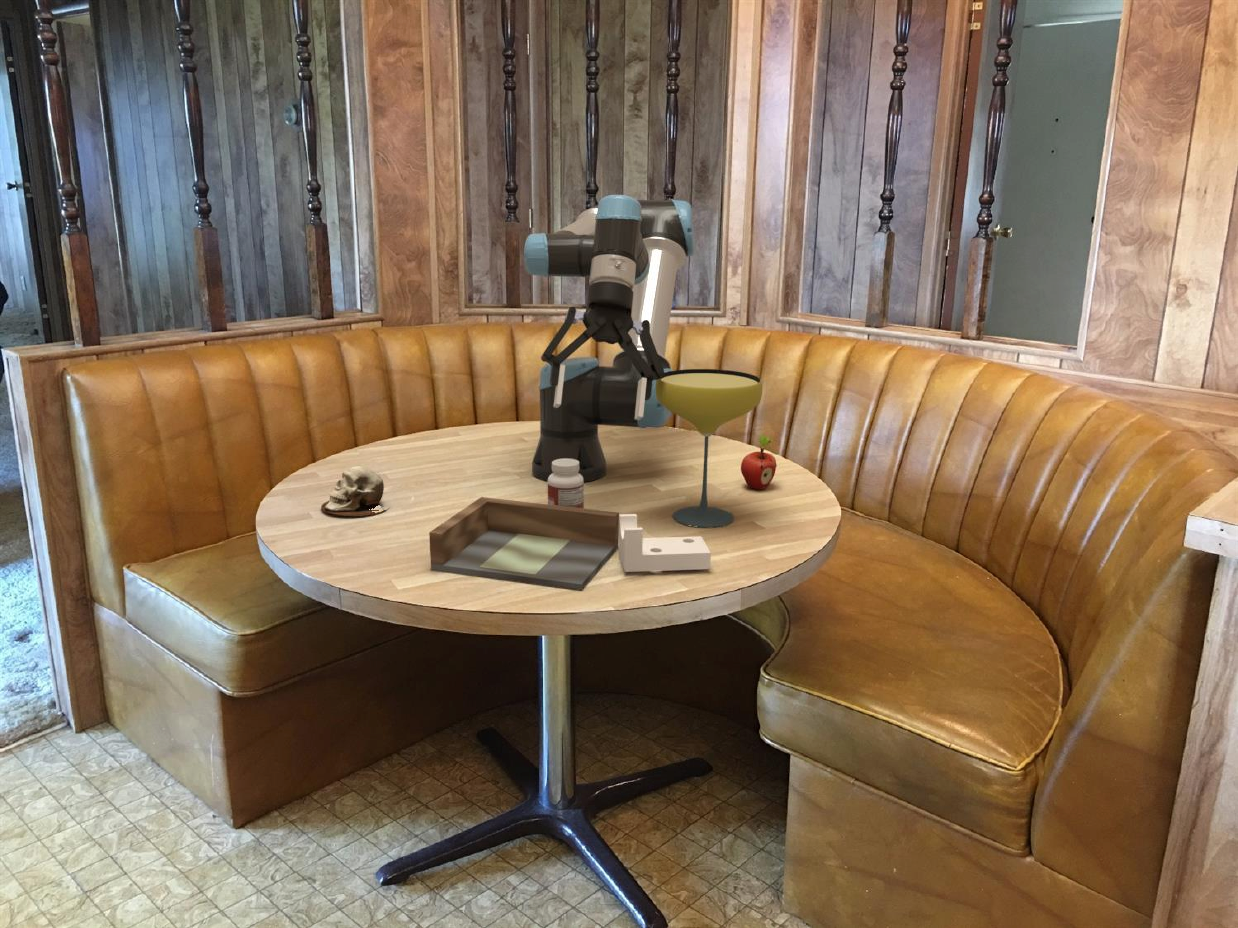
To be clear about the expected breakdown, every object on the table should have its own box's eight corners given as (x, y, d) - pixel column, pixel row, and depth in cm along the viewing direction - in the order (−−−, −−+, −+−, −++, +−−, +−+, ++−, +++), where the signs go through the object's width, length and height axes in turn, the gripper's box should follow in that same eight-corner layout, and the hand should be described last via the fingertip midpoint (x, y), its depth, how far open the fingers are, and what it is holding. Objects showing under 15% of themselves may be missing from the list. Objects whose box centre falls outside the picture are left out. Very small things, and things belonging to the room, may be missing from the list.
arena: (482, 530, 156) (481, 496, 155) (618, 547, 150) (618, 512, 148) (431, 569, 140) (429, 532, 138) (581, 590, 133) (581, 551, 132)
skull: (336, 519, 158) (318, 467, 161) (326, 544, 166) (308, 494, 169) (403, 505, 165) (384, 455, 168) (389, 529, 173) (372, 481, 176)
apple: (777, 493, 178) (780, 443, 176) (742, 493, 178) (744, 442, 175) (771, 481, 186) (774, 433, 183) (737, 481, 186) (739, 432, 183)
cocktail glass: (728, 542, 152) (736, 393, 145) (633, 522, 161) (636, 380, 154) (770, 512, 167) (779, 375, 160) (681, 495, 176) (685, 365, 169)
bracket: (624, 577, 139) (625, 530, 137) (618, 560, 145) (619, 514, 143) (710, 574, 140) (712, 527, 138) (700, 557, 147) (702, 512, 145)
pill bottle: (547, 518, 163) (546, 457, 160) (582, 517, 164) (582, 456, 161) (548, 530, 157) (547, 467, 154) (584, 529, 158) (584, 466, 155)
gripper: (540, 266, 148) (525, 395, 144) (689, 293, 153) (678, 418, 149) (533, 282, 155) (518, 405, 151) (676, 307, 160) (665, 427, 157)
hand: (598, 412), depth 150 cm, fingers open, 13 cm apart
